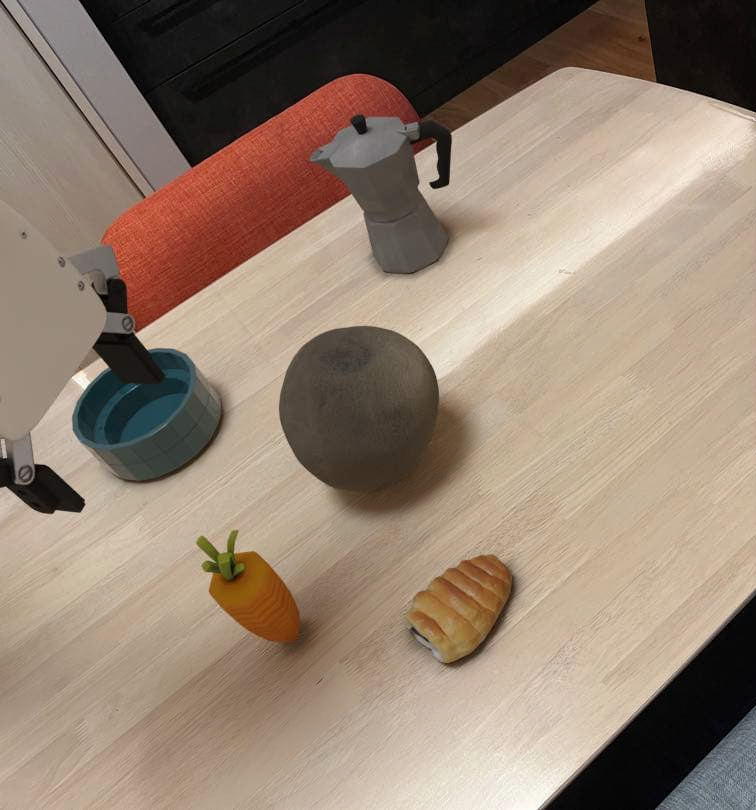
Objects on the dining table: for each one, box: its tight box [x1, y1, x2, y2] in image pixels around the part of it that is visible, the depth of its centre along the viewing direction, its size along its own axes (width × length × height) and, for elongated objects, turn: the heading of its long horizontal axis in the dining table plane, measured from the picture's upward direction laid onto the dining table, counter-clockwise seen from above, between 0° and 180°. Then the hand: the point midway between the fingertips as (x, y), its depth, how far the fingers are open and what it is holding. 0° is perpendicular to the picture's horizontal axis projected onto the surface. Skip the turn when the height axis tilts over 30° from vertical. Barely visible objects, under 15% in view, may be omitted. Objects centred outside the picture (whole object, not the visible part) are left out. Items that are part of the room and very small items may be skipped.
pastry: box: [402, 553, 513, 664], centre depth 74 cm, size 9×7×4 cm
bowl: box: [71, 347, 222, 482], centre depth 95 cm, size 13×13×6 cm
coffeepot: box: [309, 114, 453, 275], centre depth 101 cm, size 15×9×18 cm, turn 94°
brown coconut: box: [278, 325, 440, 493], centre depth 82 cm, size 14×14×15 cm
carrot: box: [195, 529, 301, 643], centre depth 72 cm, size 5×5×15 cm
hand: (106, 440), depth 56 cm, fingers open, 9 cm apart
